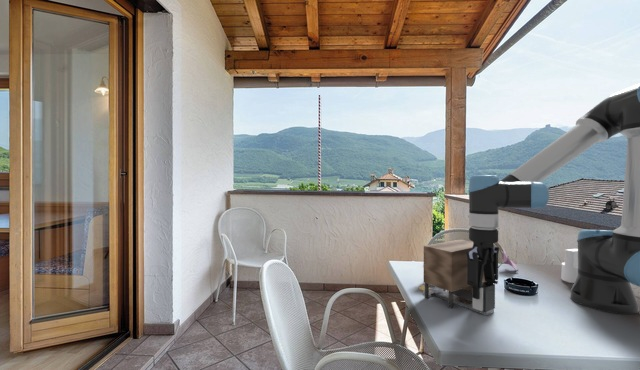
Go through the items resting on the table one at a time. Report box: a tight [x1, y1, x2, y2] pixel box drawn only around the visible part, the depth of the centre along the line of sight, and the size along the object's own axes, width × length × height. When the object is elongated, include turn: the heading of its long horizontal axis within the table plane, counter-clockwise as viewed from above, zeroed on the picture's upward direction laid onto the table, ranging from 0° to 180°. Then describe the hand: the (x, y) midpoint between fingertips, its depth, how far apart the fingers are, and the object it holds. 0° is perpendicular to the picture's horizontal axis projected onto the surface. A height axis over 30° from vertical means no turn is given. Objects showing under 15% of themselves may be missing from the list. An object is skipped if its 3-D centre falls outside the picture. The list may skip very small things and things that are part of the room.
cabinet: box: [423, 239, 486, 309], centre depth 96 cm, size 10×20×17 cm, turn 122°
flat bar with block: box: [422, 281, 496, 316], centre depth 92 cm, size 20×8×8 cm, turn 32°
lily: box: [498, 247, 519, 274], centre depth 124 cm, size 12×12×10 cm
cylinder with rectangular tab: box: [561, 248, 578, 284], centre depth 111 cm, size 9×9×12 cm
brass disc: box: [419, 284, 433, 292], centre depth 102 cm, size 4×4×1 cm
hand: (483, 306), depth 85 cm, fingers closed on flat bar with block, 5 cm apart
